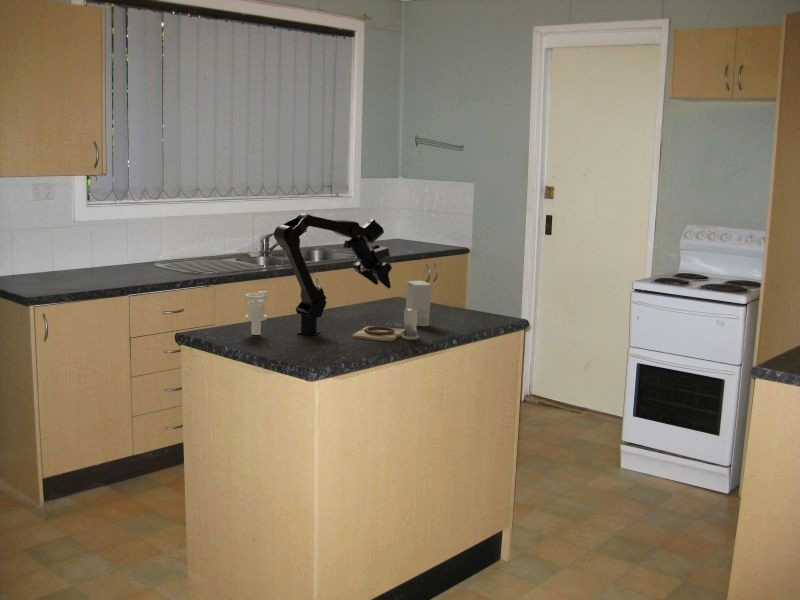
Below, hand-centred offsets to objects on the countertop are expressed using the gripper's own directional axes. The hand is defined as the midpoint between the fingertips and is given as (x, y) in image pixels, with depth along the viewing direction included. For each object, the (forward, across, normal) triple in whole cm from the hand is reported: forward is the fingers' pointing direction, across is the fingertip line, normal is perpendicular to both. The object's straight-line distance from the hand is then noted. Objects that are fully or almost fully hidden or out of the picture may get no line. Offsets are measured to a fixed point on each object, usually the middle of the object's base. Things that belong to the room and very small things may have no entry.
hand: (383, 285), depth 322 cm
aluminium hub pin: (+11, -22, +10) cm, 27 cm away
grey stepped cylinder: (-15, +2, +47) cm, 50 cm away
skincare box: (+19, -4, -2) cm, 19 cm away
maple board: (+7, -14, +16) cm, 22 cm away
